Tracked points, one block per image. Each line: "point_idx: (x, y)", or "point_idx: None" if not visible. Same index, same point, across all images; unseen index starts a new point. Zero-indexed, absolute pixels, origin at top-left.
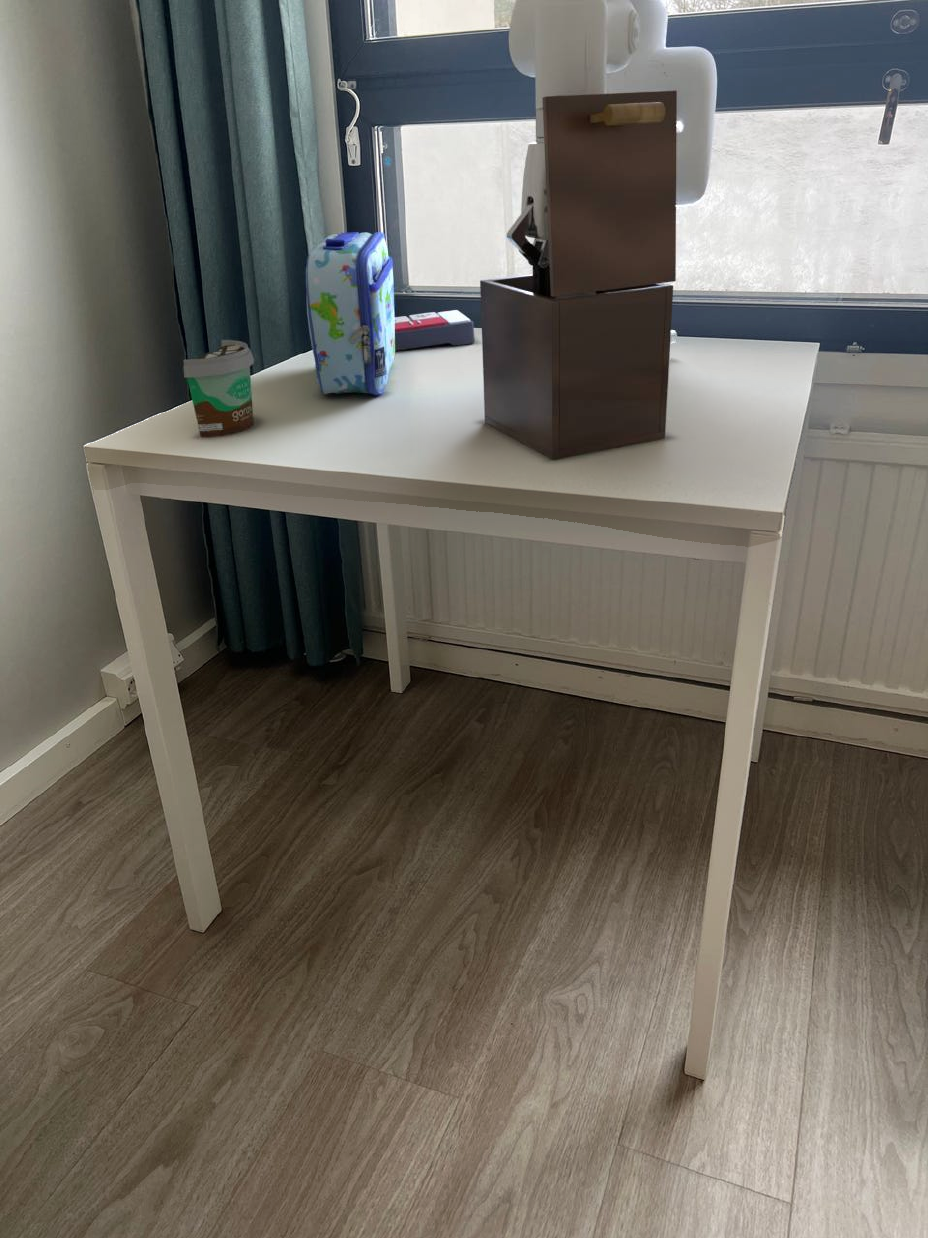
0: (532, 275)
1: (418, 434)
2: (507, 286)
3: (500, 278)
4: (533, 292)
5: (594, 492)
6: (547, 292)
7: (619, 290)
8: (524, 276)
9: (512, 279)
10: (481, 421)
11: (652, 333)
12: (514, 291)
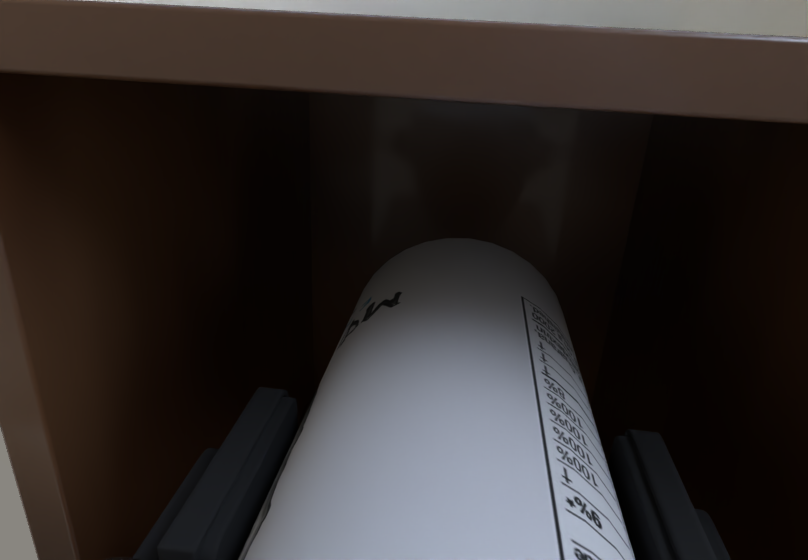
0: (401, 96)
1: None
2: (23, 407)
3: (74, 31)
4: (208, 450)
5: None
6: None
7: (806, 533)
8: (311, 92)
9: (189, 84)
10: (288, 3)
11: None
12: (32, 526)
